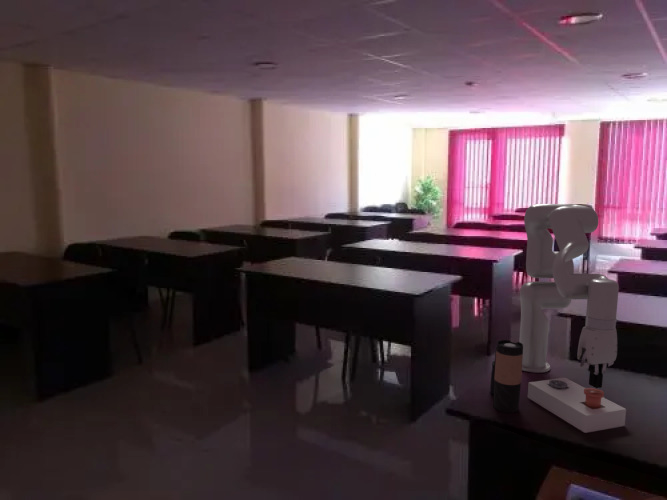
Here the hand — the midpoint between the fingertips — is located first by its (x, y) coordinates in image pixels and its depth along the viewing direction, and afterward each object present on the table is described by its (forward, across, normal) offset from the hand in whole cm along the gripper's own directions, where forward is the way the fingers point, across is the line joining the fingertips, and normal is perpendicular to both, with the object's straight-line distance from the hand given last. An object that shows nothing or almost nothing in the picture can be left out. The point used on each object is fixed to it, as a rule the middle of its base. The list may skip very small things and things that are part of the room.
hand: (595, 386), depth 153 cm
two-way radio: (+11, +14, -26) cm, 31 cm away
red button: (+6, 0, 0) cm, 6 cm away
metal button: (+9, 0, -15) cm, 17 cm away
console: (+11, 0, -8) cm, 13 cm away
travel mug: (+11, +18, -16) cm, 26 cm away
